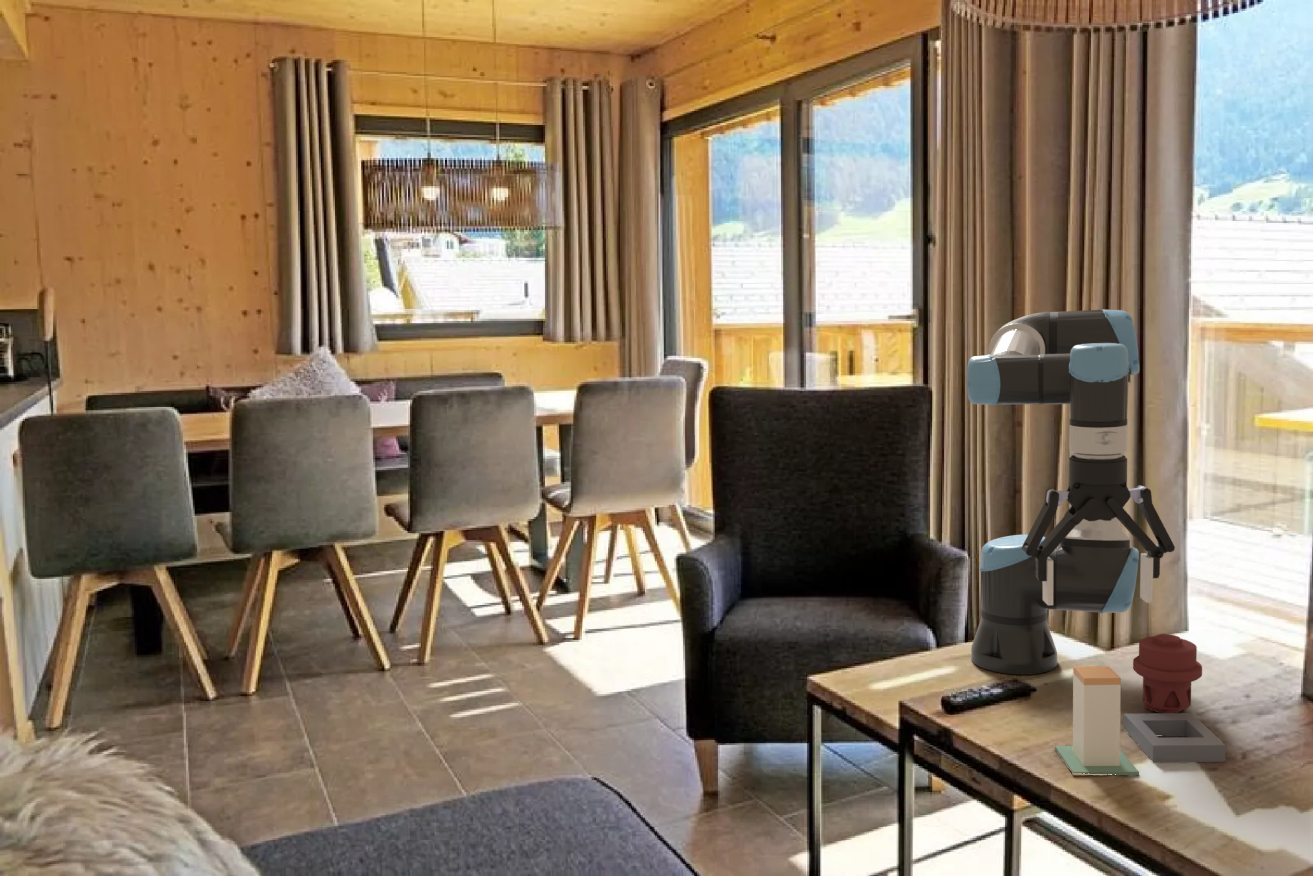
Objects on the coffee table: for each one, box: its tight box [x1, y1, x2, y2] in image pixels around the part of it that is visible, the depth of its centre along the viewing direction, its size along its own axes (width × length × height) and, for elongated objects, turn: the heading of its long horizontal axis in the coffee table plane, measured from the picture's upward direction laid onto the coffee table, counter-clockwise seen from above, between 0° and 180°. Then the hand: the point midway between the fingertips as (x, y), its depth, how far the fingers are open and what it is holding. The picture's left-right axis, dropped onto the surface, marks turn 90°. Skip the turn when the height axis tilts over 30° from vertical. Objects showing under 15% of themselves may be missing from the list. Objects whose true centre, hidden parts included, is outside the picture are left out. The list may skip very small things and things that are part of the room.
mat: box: [1054, 745, 1140, 776], centre depth 155 cm, size 9×9×1 cm
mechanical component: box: [1132, 633, 1203, 713], centre depth 172 cm, size 12×10×10 cm
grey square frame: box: [1123, 712, 1226, 763], centre depth 160 cm, size 12×10×2 cm
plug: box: [1072, 665, 1122, 766], centre depth 154 cm, size 5×5×13 cm
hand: (1096, 601), depth 153 cm, fingers open, 13 cm apart
